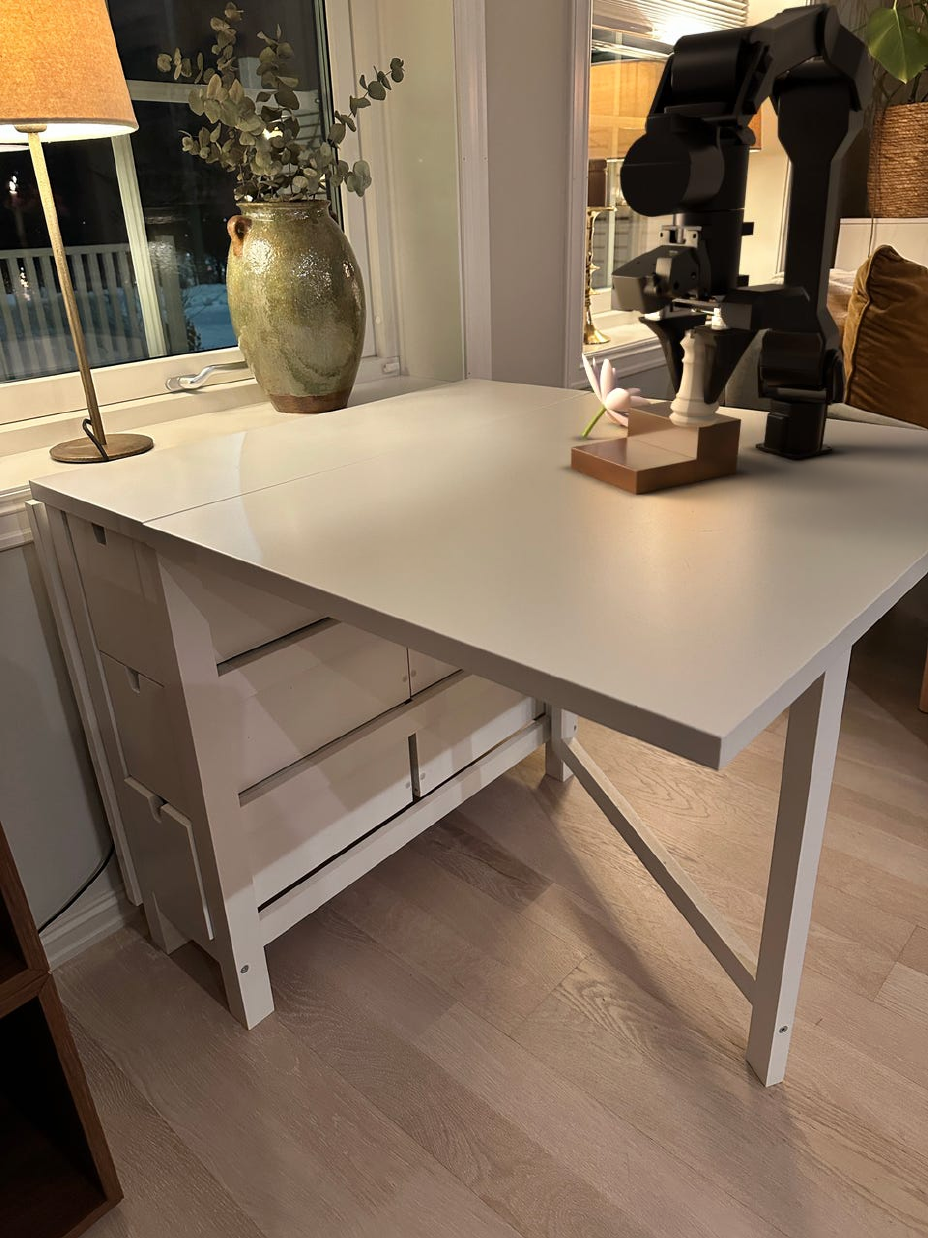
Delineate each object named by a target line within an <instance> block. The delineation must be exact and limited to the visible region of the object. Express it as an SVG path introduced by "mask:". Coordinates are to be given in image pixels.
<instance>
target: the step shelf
mask: <svg viewBox="0 0 928 1238" xmlns="http://www.w3.org/2000/svg"><path fill="white" fill-rule="evenodd" d="M672 402H673V401H670V400H666V401H661V402H654V403H651V404H647V405H641V406H635V407H629V412H628V413H627V414H628V427H627V434H626V435H627V436H626V437H622V438H620V437H619V438H616V439H610V440H605V441H598V442H593V443H587V444H581V445H577V446H572V447H571V448H570V449H571V452H570V459H571V460H570V469H571V470H574V471H577V472H579V473H581V474H585V475H586V476H590V477H592V478H594V479H597V480H599V481H601V482H604V483H607V484H609V485H612V486H614V487H616V488H620V489H622V490H624V491H627V492H628V493H629V492H630V493H632V494H635V495H639V494H642V493H648V492H653V491H657V490H662V489H666V488H671V487H676V486H681V485H685V484H690V483H695V482H700V481H705V480H709V479H714V478H718V477H722V476H728V475H731V474H736V473H737V465H738V456H739V445H740V437H741V436H740V435H741V428H742V427H741V426H742V419H741V418H738V417H734V416H730V415H726V414H722V413H718V412H715V413H716V414H717V415H718V416H719V419H718V420H717V421H716V423H715V424H713V425H711V426H706V427H683V426H678V425H675V424H674V423H673V422H672V421H671V419H670V418H669V416H670V415H671V414H672V413H673V412H674V411H673V410H672V409H671V408H670V407H671V404H672Z"/></svg>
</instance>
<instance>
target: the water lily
mask: <svg viewBox="0 0 928 1238" xmlns="http://www.w3.org/2000/svg"><path fill="white" fill-rule="evenodd" d="M581 357H582V362H583V367H584V370H585V373H586V376H587V378H588V381H589V384H590V386H591V388H592V389H593V391H594V393H595V395H596V396H597V399H598V400H599V402H600V403H601V404H602V408H601V409H600V410H599V412H598V413H596V415H595V416H594V418H593V419H592V420H591V421H590V423H589V424H588V425H587V427H586V428H585V430H584V431H583V433H582V435H581V437H582V438H583V439H584V440H585V439H587V437H588V436H589V434H590V432H592V430H593V428H594V427H595V425H596V424H597V423H598V421H599V420H600V419H601V417H602V416H603V414H605V415H606V417H607V418H608V419H609V421H611V422H612V423H613V424H616V425H617V426H618V425H619V426H621V425H623V426H625V428H628V412H629V407H635V406H641V405H647V404H652V403H651V401H649V400H647V399H646V398H643V397H641V393H642V391H641V388H639V387H638V388H636V387H629V388H626V389H623V388H620V386H619V378H618V373H617V370H616V368H615V367H612V364H611V363H610V361H609V359H608V358H606V359H604V361H603V364H602V368H601V371H600V369H599V366H598V364H597V361H596V358H595V357H594V356H593V359H592V363H593V366H592V365H591V364H590V362H589V360H588V358H586V356H585V355H584V353H581Z"/></svg>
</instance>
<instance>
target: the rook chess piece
mask: <svg viewBox="0 0 928 1238" xmlns="http://www.w3.org/2000/svg"><path fill="white" fill-rule="evenodd" d="M680 344H681V345H682V347H683V348H684V350H685V356H684V358H683V359H682V362H683V363H684V369H683V376H682V381H681V387H680V390H679V392H678V393H677V394H676V395H675V396H676V397H675V398H674V400H673V401H671V402H672V404H671V407H670V408H671V409H672V410H673V411H674V412H673V413H672V414H671V415H670V416H669V418H670V419H671V421H672V422H673V423H674V424H675V425H678V426H683V427H706V426H711V425H713V424H715V423H716V421H717V420H718V419H719V416H718V415H717V414H716V413H717V412H718V410H720V404H719V403H720V402H719V401H718V400H717V401H716V403H714V404H705V403H704V392H703V378H704V343H703V341H702V340H701V338H700V337H699V335H698V334H697V333H695V330H694V329H692V330H689V331H685V338H684V339H683V340H682V341H681V343H680Z"/></svg>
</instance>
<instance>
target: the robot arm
mask: <svg viewBox="0 0 928 1238" xmlns="http://www.w3.org/2000/svg"><path fill="white" fill-rule="evenodd" d="M818 57H822V59H820V60H819V59H818V60H811V59H813V58H818ZM873 84H874V76H873V70H872V66H871V61H870V58H869V52H868V48H867V45H866V44H865V42H864V41H862V39H860V38H859V37H857V36H856V35H855V34H854V33H853V32H852V31H850V30H849V29H848V28H846V27H845V26H844V25H843V24H842V23H841V20H840V16H839V11H838V9H837V7H836V5H834V4H829V3H828V2H821V3H814V4H808V5H799V6H794V7H788V8H784V9H783V10H782V11H781V12H777V13H776V14H775V15H774V16H772V17H770V18H768V19H765V20H764V21H761V22H759V23H756V24H753V25H748V26H741V27H733V28H726V29H720V30H712V31H705V32H699V33H691V34H685V35H682V36H680V37H679V38H678V39H677V40H676V42H675V44H674V45H673V47H672V53H671V54H670V56H668V58H667V60H666V62H665V65H664V68H663V71H662V73H661V77H660V80H659V83H658V85H657V87H656V91H655V93H654V97H653V100H652V102H651V105H650V108H649V111H648V114H647V116H646V117H645V123H644V131H645V133H643V134H642V135H641V136H640V137H638V138H637V139H636V140H635V141H634V142H633V143H632V145H630V146H629V148H628V150H627V152H626V154H625V156H624V158H623V162H622V164H621V167H620V169H619V177H618V178H619V189H620V192H621V194H622V197H623V199H624V201H625V203H626V204H627V206H628V207H630V209H631V210H632V211H633V212H635V213H636V214H638V215H640V216H643V217H648V218H658V217H664V216H665V217H666V216H672V224H662V225H661V229H660V230H659V232H658V240H657V247H655V248H653V249H651V250H649V251H646V252H644V253H641V254H639V255H638V256H637V257H634V258H633V259H631V260H630V261H628V262H626V263H625V264H622V265H621V266H620V267H618V268H616V269H614V270H613V271H612V272H611V274H610V275H611V280H612V283H613V285H612V286H611V289H610V310H612V311H618V312H625V313H631V312H632V313H633V312H639V313H640V314H641V315H643V316H638V317H637V319H638V320H637V321H638V322H639V323H640V324H643V325H645V326H646V327H647V328H648V329H649V330H651V332H652V333H654V334H655V336H657V339H658V340H659V344H660V347H661V349H662V352H663V356H664V358H665V362H666V366H667V370H668V374H669V377H670V381H671V384H672V388H673V390H674V395H675V396H676V394H677V393H678V392H679V390H680V387H681V381H682V376H683V369H684V363H683V362H682V359H683V358H684V356H685V350H684V348H683V347H682V345H681V344H680V343H681V341H682V340H683V339H684V338H685V331H689V330H692V329H694V330H695V333H697V334H698V335H699V337H700V338H701V340H702V341H703V343H704V378H703V392H704V403H705V404H714V403H716V401H718V400H719V398H720V397H721V395H722V393H723V391H724V390H725V387H726V386H727V384H728V382H729V380H730V378H731V376H733V373H734V371H735V370H736V368H737V366H738V365H739V363H740V361H741V359H742V357H743V356H744V354H745V353H746V351H747V350H748V348H749V347H750V345H751V344H752V343H753V341H754V339H755V338H756V337H757V335H758V334H759V332H760V331H764V330H766V331H765V332H764V334H763V335H762V337H761V348H760V351H759V354H758V357H757V365H756V367H757V368H756V371H757V374H756V375H757V376H756V377H757V398H758V399H759V400H760V399H761V400H763V399H764V400H765V399H768V400H770V402H769V411H768V413H767V414H766V423H765V431H764V440H763V442H758V443H755V445H754V449H756V450H760V451H764V452H767V453H771V454H774V455H778V456H781V457H785V458H787V459H792V460H799V459H804V458H809V457H813V456H818V455H823V454H828V453H831V452H834V447H833V446H831V445H826V444H824V439H825V432H826V426H827V425H826V424H827V418H828V410H829V406H833V405H837V404H843V403H844V402H845V395H846V390H847V387H846V386H847V381H848V380H847V379H848V378H847V374H846V369H845V363H844V357H843V353H842V350H841V349H840V348H839V345H840V328H839V326H838V325H837V323H836V321H835V320H834V318H833V315H832V314H831V312H830V310H829V308H828V295H829V286H830V285H829V284H830V277H831V276H830V274H831V264H832V255H833V246H834V245H833V244H834V235H835V225H836V215H837V207H838V195H839V188H840V187H839V185H840V174H841V166H842V159H843V157H844V155H845V154H846V152H847V151H848V150H849V147H850V146H851V145H852V143H853V141H854V140H855V139H856V137H857V135H858V134H859V133H860V131H861V129H862V127H863V121H864V116H865V111H866V110H867V109H868V107H869V104H870V103H871V98H872V94H873V86H874V85H873ZM768 98H769V100H770V103H771V106H772V108H773V111H774V114H775V116H776V117H777V138H778V139H777V140H778V141H779V142H780V145H781V147H782V148H783V151H784V152H785V154H786V156H787V158H788V159H789V162H790V164H791V175H790V186H789V187H790V188H789V201H788V214H787V228H786V240H785V254H784V266H783V267H784V269H783V281H782V284H780V283H763V284H754V285H749V284H750V274H741V273H740V266H741V255H742V243H743V237H747V236H754V232H755V231H754V230H755V221H744V219H745V207H746V199H747V197H746V196H747V185H748V174H749V163H750V153H751V152H750V151H751V147H755V145H756V143H757V137H756V134H755V132H754V130H753V128H751V127H750V126H749V125H750V123H751V121H752V120H753V118H754V117H755V115H758V113H759V111H760V109H761V106H762V104H764V103H765V102H766V100H767V99H768ZM693 310H695V311H693ZM698 311H699V312H698ZM700 311H702V312H700ZM706 312H710V313H713V315H711V323H710V324H706V323H707V319H708V313H706Z"/></svg>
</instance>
